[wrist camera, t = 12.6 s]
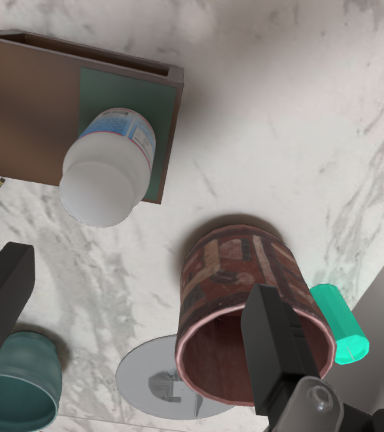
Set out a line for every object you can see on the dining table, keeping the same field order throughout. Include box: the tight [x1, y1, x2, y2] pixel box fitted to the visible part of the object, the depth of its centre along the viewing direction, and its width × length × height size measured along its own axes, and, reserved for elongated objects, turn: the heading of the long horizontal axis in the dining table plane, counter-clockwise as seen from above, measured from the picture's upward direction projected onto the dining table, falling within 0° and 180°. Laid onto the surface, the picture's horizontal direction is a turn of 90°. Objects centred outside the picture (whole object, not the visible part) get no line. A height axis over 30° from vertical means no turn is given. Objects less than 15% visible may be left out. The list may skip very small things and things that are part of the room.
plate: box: [116, 335, 236, 420], centre depth 66 cm, size 28×28×1 cm
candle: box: [310, 284, 369, 364], centre depth 50 cm, size 6×6×12 cm
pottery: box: [174, 224, 337, 407], centre depth 43 cm, size 18×18×18 cm
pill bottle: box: [59, 108, 156, 227], centre depth 25 cm, size 6×6×11 cm
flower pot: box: [0, 332, 62, 432], centre depth 55 cm, size 16×16×11 cm
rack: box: [0, 29, 184, 204], centre depth 34 cm, size 12×18×11 cm, turn 78°
